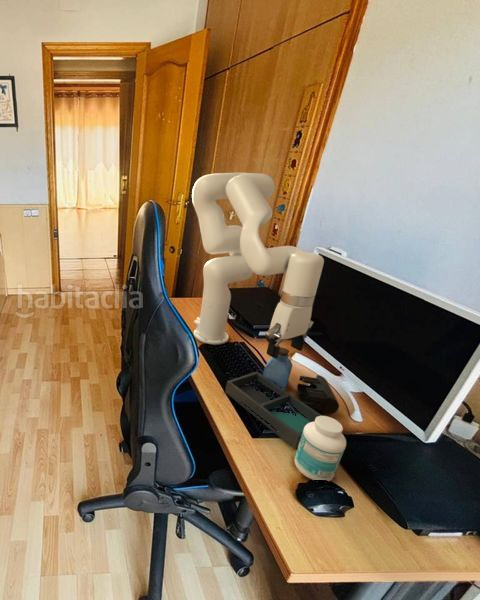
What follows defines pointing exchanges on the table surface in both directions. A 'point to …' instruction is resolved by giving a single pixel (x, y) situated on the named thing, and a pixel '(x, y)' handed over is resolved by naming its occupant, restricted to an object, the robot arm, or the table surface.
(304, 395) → the dark brown rock
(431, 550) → the table surface
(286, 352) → the perfume bottle
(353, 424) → the table surface
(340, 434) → the pill bottle
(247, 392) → the rack
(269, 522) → the table surface
